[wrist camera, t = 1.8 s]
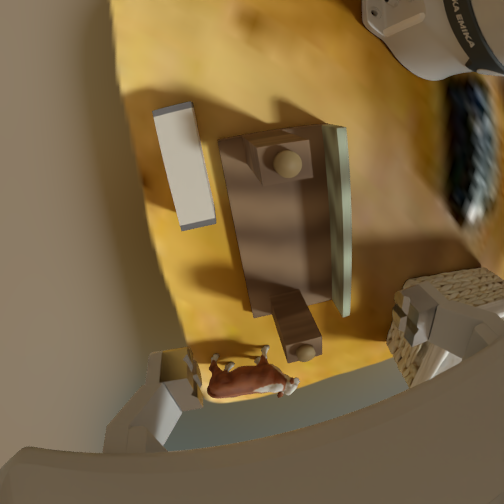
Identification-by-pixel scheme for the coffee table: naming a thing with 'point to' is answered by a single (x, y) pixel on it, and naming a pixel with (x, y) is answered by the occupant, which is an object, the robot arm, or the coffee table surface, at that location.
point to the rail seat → (292, 225)
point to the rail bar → (185, 165)
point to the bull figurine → (249, 379)
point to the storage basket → (453, 288)
